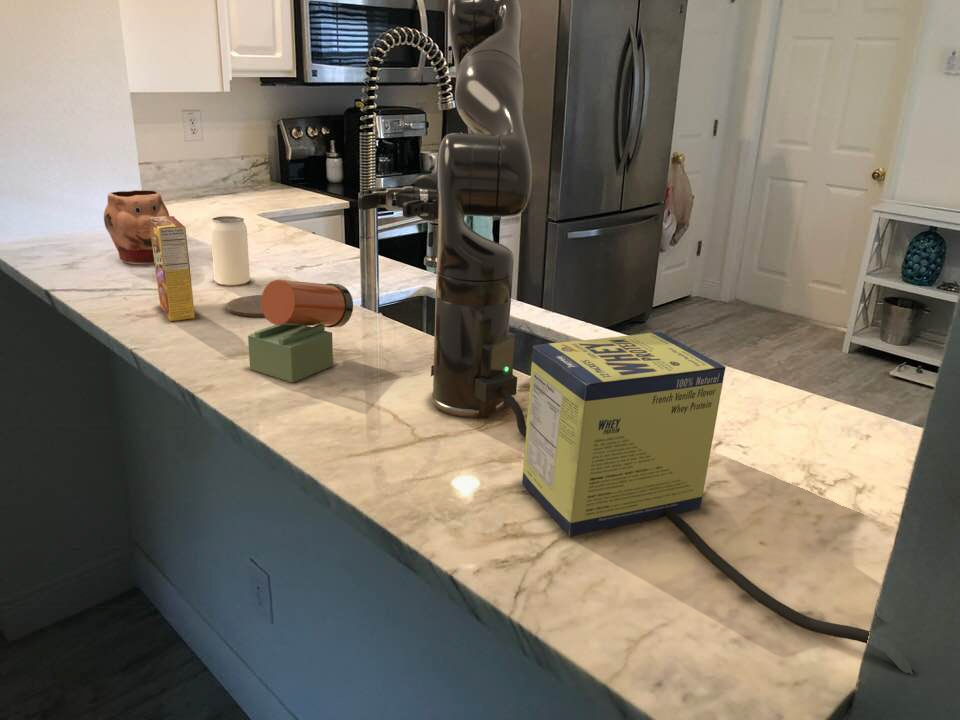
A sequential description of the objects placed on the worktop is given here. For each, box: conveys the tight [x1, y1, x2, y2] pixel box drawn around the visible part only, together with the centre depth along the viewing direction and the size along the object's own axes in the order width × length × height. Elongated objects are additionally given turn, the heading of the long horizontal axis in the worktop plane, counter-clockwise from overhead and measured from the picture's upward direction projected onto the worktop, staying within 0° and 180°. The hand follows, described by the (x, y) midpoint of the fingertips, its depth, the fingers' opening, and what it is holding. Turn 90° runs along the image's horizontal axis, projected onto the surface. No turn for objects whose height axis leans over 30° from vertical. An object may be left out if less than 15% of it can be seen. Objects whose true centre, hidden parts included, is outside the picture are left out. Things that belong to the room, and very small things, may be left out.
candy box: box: [149, 215, 196, 322], centre depth 123 cm, size 9×4×15 cm, turn 31°
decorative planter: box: [103, 189, 170, 265], centre depth 155 cm, size 20×12×14 cm, turn 43°
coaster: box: [226, 294, 266, 318], centre depth 131 cm, size 11×11×1 cm
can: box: [210, 215, 251, 287], centre depth 143 cm, size 6×6×12 cm
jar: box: [261, 279, 354, 329], centre depth 106 cm, size 12×6×6 cm, turn 149°
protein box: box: [521, 331, 726, 537], centre depth 75 cm, size 10×16×16 cm
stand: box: [247, 324, 334, 383], centre depth 105 cm, size 8×8×6 cm
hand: (382, 206), depth 115 cm, fingers open, 8 cm apart
